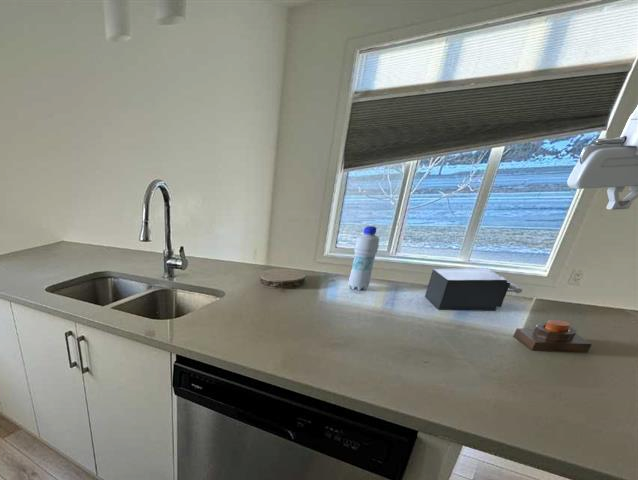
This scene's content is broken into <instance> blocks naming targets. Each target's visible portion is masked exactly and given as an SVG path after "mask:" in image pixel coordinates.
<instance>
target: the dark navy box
mask: <svg viewBox="0 0 638 480" xmlns="http://www.w3.org/2000/svg"><path fill="white" fill-rule="evenodd" d="M507 281H508V279H506V278H505V277H503V276H501V275H500V274H497V273H496V272H494V271H493V270H491V269H489V268H433V269H432V272H431V274H430V277H429V282H428V284H427V288H426V291H425V294H424V298H426V300H427V301H428V302H430V303H431V304H432V305H433V306H434V307H435V308H436V309H437V310H438V311H496V310H497V308H498V307H497V305H498V303H499V300H500V298H501V295H502V293H503V290H504V288H505V285H506V283H507Z"/></svg>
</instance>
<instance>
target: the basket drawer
mask: <svg viewBox="0 0 638 480" xmlns="http://www.w3.org/2000/svg"><path fill="white" fill-rule="evenodd" d="M508 292H509V293H510V292H513V293H516V294H521V293H522V292H523V289H522V288H521V287H519V286H518V285H516V284H514V283H513V282H510V281H508V280H507V283H506V285H505V288H504V290H503V293H502V295H501V298H500V300H499V303H498V305H497V308H498V307H499V308H501V307H502V305H503V304H504V303H503V302H504V300H505V297H506V295H507V293H508Z"/></svg>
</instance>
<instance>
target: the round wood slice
mask: <svg viewBox="0 0 638 480" xmlns="http://www.w3.org/2000/svg"><path fill="white" fill-rule="evenodd" d="M306 277H307V274H306V272H304V271H302V270H298V269H292V268H272V269H267V270H264V271H262V272H260V273H259V281H258V282H259V285H260V286H262V287H265V288H269V289H274V290H290V289H292V290H293V289H297V288H301V287H303V286H304V285H305V284H306Z"/></svg>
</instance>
